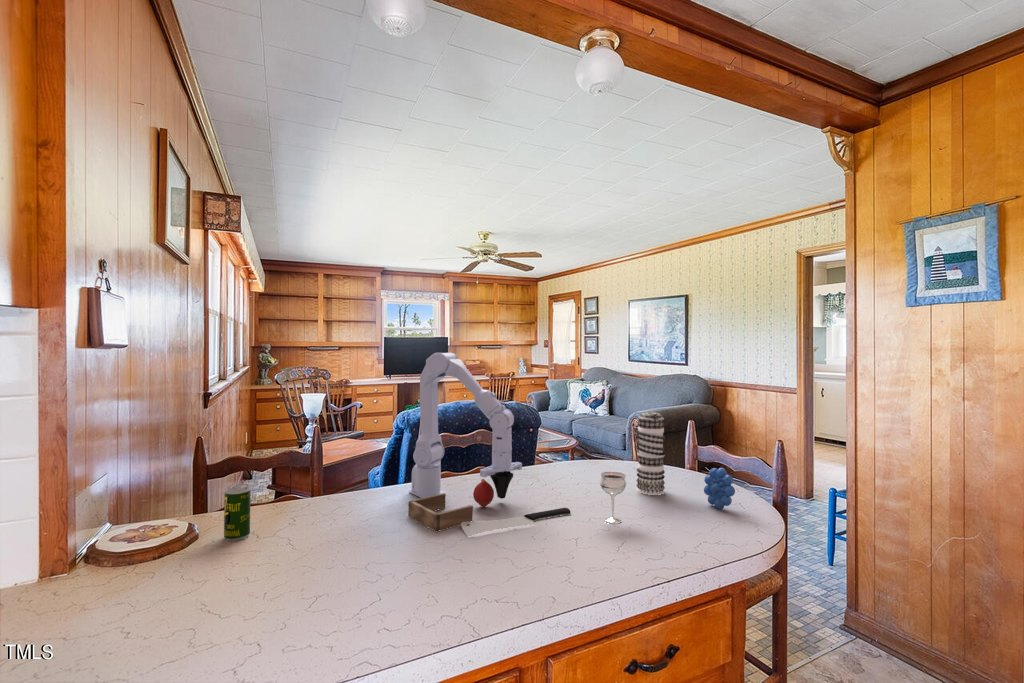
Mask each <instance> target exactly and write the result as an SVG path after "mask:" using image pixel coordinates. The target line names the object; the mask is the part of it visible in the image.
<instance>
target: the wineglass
mask: <svg viewBox="0 0 1024 683" xmlns="http://www.w3.org/2000/svg"><path fill="white" fill-rule="evenodd" d="M599 475H600V477H601V478H600V479H599V484H600V487H601V489H602V490H603V492H604V493H606V494H608V495H609V496H610V497H611V498H610V499H611V516H608V518H607V517H604V518H605V521H607V522H610V523H616V522H617V523H618V522H620V521H621V520H622V519H621V518H619V517H614V516H615V515H614V514H615V512H614V511H615V509H614V508H615V497H617V496H618V495H620V494H621V493H623V492H624V491H625V490H626V486H627V481H626V479H625V478H626V477H627V476H626V474H624V473H622V472H618V471H603V472H601V473H600V474H599ZM618 518H619V519H618ZM620 519H621V520H620Z"/></svg>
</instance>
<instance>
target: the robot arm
mask: <svg viewBox="0 0 1024 683" xmlns="http://www.w3.org/2000/svg"><path fill="white" fill-rule="evenodd" d="M445 376H448V377H452V378H456V379H457V380H458V381H459V382H460V383H461V384H462V385H463V386H464V387H465V388H466V389H467V390H468V392H470V393H471V394H472V396H474V397H473V398H474V404H475V406H477V407H478V409H479V410H480V411H481V412H482V414H484V416H485V417H486V418H487V419H488V420H489V427H490V428H491V429H492V436H491V437H492V438H491V439H492V440H491V448H492V449H491V451H492V452H491V462H492V463H491V465H489V466H486V467H484V468H481V469H479V477H482V478H487V477H490V478H491V481H492V482H493V485H494V487H495V491H496V496H497V498H499V499H501V500H503V499H505V498H506V496H507V493H508V492H507V491H508V489H509V486H510V483H511V481H512V479H513V478H514V473H513V472H512V471H517V470H522V469H523V463H522V462H519V461H515V462H512V450H513V449H512V446H513V445H512V440H513V438H512V437H513V436H512V431H513V430H512V427H513V424H514V422H515V417H514V414H513V412H512V410H511V409H509V408H506V405H504V404H501V403H502V402H500V401H499V400H498V399H497V398H496V397H495V396H496V393H495V392H494V391H490V389H483V388H482V386H481V385H480V384H479V382H478V381H477V379H476V377H474V376H473V374H472V373H471V372H470V370H468V368H467V367H466V365H465V363H464V361H463V360H461V359H460V358H459V357H458V355H457V354H455V353H454V352H452V351H451V352H434V353H432V354H431V355H430V356H429V357H427V359H425V365H424V367H423V370H422V371H421V373H420V377H419V408H420V409H419V412H420V414H419V416H420V417H419V418H420V419H419V420H420V421H419V425H420V427H419V428H420V431H419V432H420V434H419V436H418V438H417V440H416V442H415V449H414V451H413V455H412V458H413V461H414V463H415V465H413V467H412V470H411V489H410V490H408V493H410V494H413V495H414V496H416V497H418V498H419V499H420V498H425V497H429V496H433V495H438V494H442V493H444V494H445V495H447V492H446V491H443V490H441V489H442V488H441V487H442V486H441V481H442V480H441V476H442V475H441V474H442V473H441V472H442V471H441V470H442V469H441V468H442V464H441V463H442V462H441V460H442V459H443V458H444V455H445V447H444V445H443V442H442V436H441V435H440V433H439V410H438V409H439V406H438V405H439V404H438V402H439V398H438V397H439V393H438V389H439V388H438V384H439V382H440V381H441V380H443V379H444V378H445Z"/></svg>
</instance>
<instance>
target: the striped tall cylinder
mask: <svg viewBox="0 0 1024 683" xmlns="http://www.w3.org/2000/svg"><path fill="white" fill-rule="evenodd" d="M637 418H638V426H637V429H635V432H636V434H635V436H636V438H637V439H636V441H635V442H636V444H637V445H636V446H635V447H636V449H637V451H636V454H637V456H638V457H637V458H638V460H637V461H638V463H637V468H636V471H637V473H636V476H637V479H636V482H637V483H636V487H637V489H636V491H637V492H638V491H639V492H640V493H639V492H638V493H639V494H641V493H644V494H649V495H648V496H650V495H658V496H661V495H660V494H663V495H664V494H665V489H666V487H665V484H666V482H665V480H664V479H665V477H666V476H665V475H664V474H665V470H664V469H665V468H664V466H665V465H664V457H665V455H666V453H665V450H666V447H664V445H665V444H666V443H667V442H666V441H665V440H666V439H667V438H666V437H667V436H665V435H664V433H665V427H664V419H665V418H664V417H663V416H662V414H661V413H659V412H655V411H653V412H652V411H644V412H641V413H640V415H639V416H638V417H637ZM644 494H643V495H644Z"/></svg>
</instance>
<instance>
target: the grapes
mask: <svg viewBox="0 0 1024 683" xmlns="http://www.w3.org/2000/svg"><path fill="white" fill-rule="evenodd" d="M708 473H709V474H707V475H705V476H704V480H703V481H704V483H705V484H706V485H705V486H704V488H703V492H704V494H705V495H706V496H707V502H708V503H709V504H710V505H712V506H713V505H714V507H715V508H716V509H718V510H722V509H724V507H729V506H730V505H731V504H732V503H733V502H732V500H733V499H732V497H733V496H734V495H735V493H736V489H735V487H734V486H733V482H734V478H733V477H732V475H730V474H728V472H727V470H726V469H725V467H719V468H717V467H713V468H711V469H710V470H709V472H708Z"/></svg>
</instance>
